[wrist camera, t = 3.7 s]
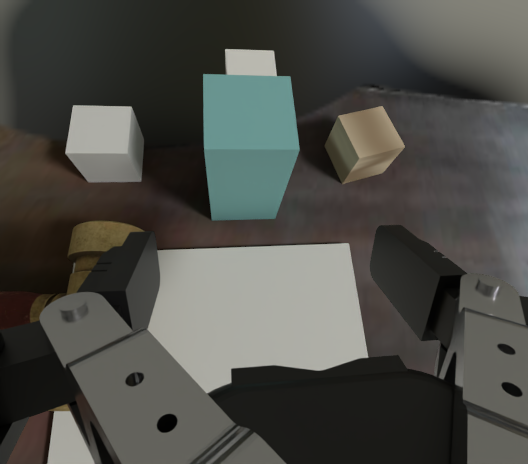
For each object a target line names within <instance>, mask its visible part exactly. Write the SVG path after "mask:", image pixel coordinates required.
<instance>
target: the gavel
mask: <svg viewBox="0 0 528 464" xmlns="http://www.w3.org/2000/svg"><path fill="white" fill-rule="evenodd" d="M130 232H145V231H143V230H142V229H140V228H138V227H135V226H133V225H129V224H125V223H121V222H114V221H89V222H85V223H81V224H78V225H76V226H75V227H74V228H73V231H72V236H71V241H70V246H69V252H68V259H69V260H70V261H72V262H74V263H75V269H74V273H72V274H71V275H70V279H69V284H68V289H67V293H61V294H39V293H33V292H26V291H12V292H0V330H3V329H7V328H11V327H15V326H19V325H24V324H28V323H32V322H35V321H39V318H40V314H41V312H42V311H43V309H44V308H45V307H46V306H48V305H49V304H50V303H52V302H53V301H55V300H57V299H59V298H61V297H64V296H67V295H70V294H74V293H76V292H77V291H78V289H79V288H80V286H81V285H82V283H83V282H84V280H85V279H86V277H87V276H88V274H89V273H90V272H91V270H92V269H93V267H94V266H95V265H96V263H97V261H98V260H99V258H100V257H101V255H102V254H103V253H105V252H106V251H108V250H109V249H111V248H112V247H114V246H122V245H123V243H124V241H125V240H126V238H127V236H128V235H129V233H130ZM48 411H70V410H69V408H68V405H67V404H66V405H63V406H60V407H57V408H54V409H51V410H48Z"/></svg>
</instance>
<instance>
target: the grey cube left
mask: <svg viewBox="0 0 528 464" xmlns="http://www.w3.org/2000/svg"><path fill="white" fill-rule="evenodd" d="M143 150H144V138H143V135H142V133H141V130H140V127H139V125H138V122H137V119H136V117H135V114H134V112H133V109H132V107H123V106H122V107H120V106H73V110H72V116H71V122H70V128H69V134H68V140H67V146H66V152H65V154H66V155H67V156H68V157H69V159H70V160H71V161H72V162H73V164H74V165H75V166H76V167H77V169H78V170H79V171H80V172H81V174H82V175H83V176H84V177H85V179H86V180H87V181H88V182H141V179H142V165H143Z"/></svg>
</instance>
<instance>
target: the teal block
mask: <svg viewBox="0 0 528 464" xmlns="http://www.w3.org/2000/svg"><path fill="white" fill-rule="evenodd" d="M203 103H204V154H205V163H206V172H207V181H208V190H209V199H210V208H211V217H212V220H244V219H275V217H276V215H277V212H278V209H279V206H280V203H281V200H282V198H283V195H284V192H285V189H286V186H287V184H288V181H289V178H290V175H291V172H292V170H293V167H294V164H295V161H296V158H297V156H298V153H299V150H300V148H299V140H298V133H297V125H296V117H295V109H294V102H293V94H292V86H291V78H290V77H289V76H288V77H287V76H255V75H221V74H203Z"/></svg>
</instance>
